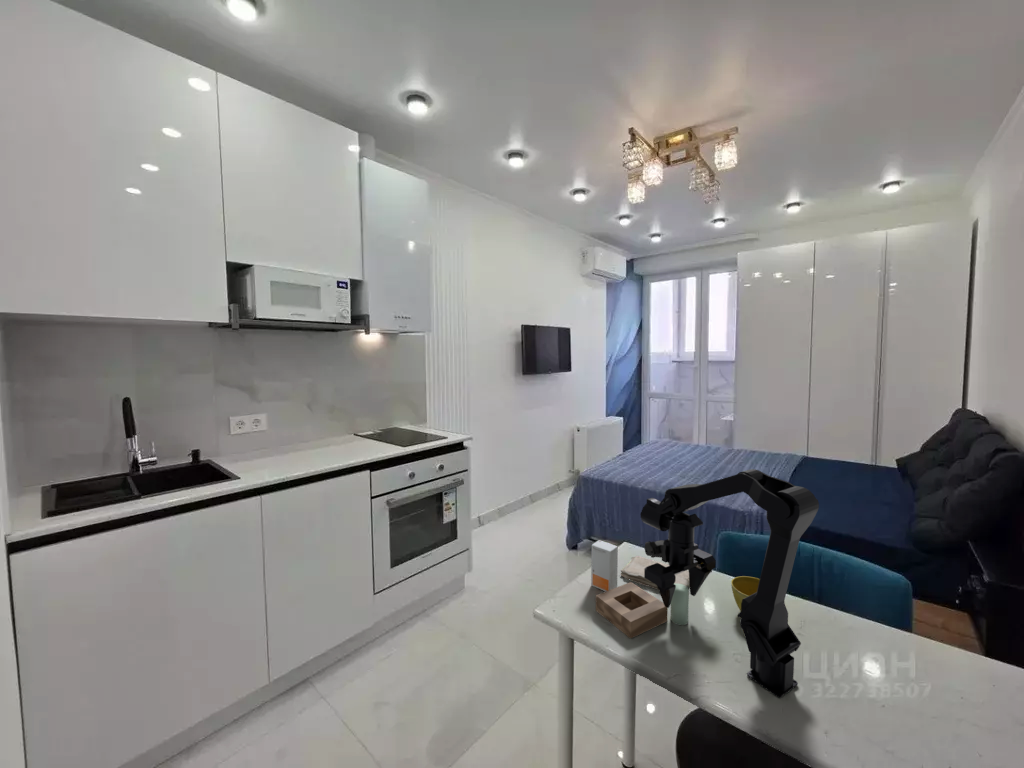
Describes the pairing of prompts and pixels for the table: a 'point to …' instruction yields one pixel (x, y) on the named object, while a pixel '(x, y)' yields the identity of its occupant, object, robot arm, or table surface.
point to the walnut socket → (631, 609)
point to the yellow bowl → (743, 588)
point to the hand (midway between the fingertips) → (680, 600)
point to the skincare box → (604, 565)
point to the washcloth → (636, 572)
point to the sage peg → (680, 605)
